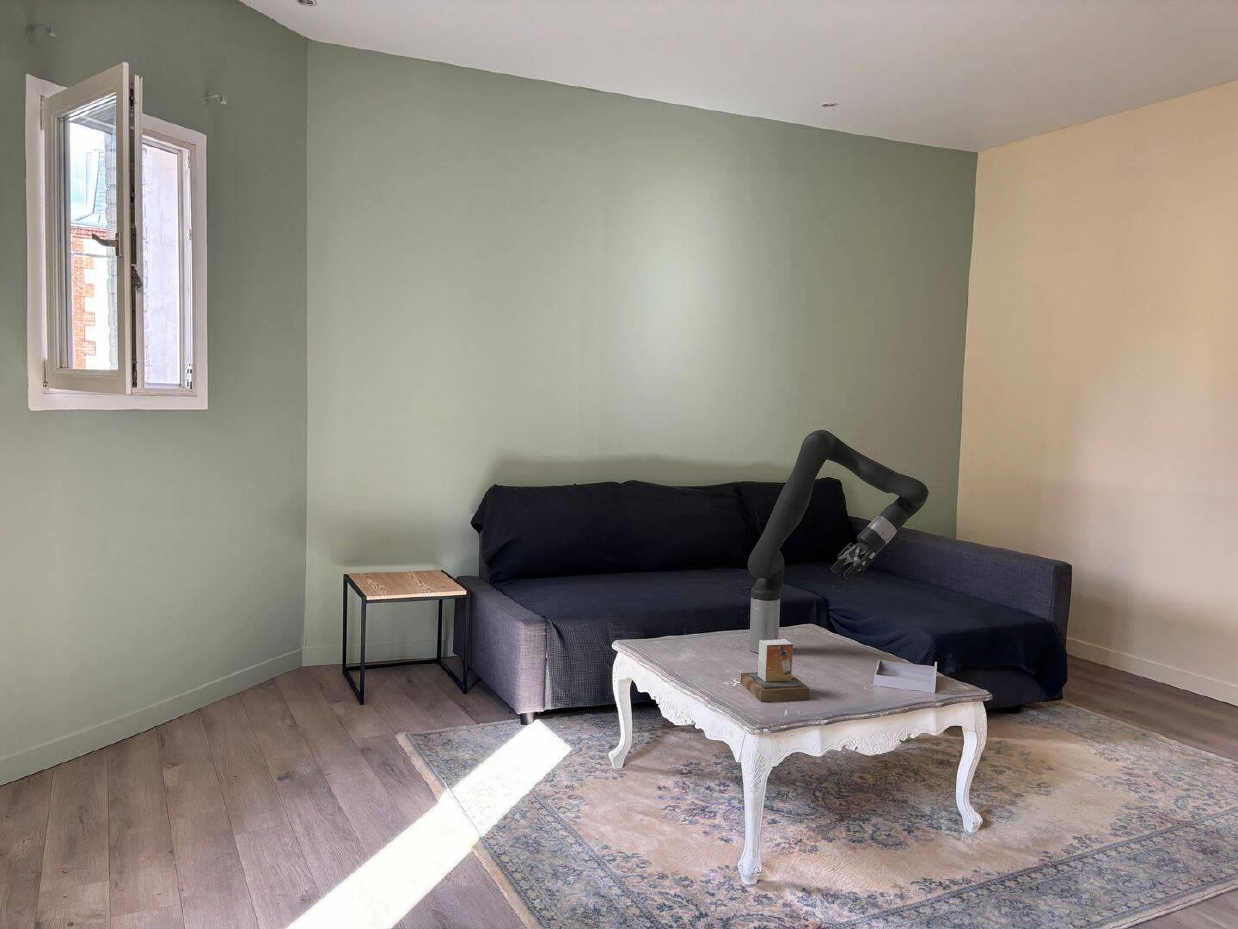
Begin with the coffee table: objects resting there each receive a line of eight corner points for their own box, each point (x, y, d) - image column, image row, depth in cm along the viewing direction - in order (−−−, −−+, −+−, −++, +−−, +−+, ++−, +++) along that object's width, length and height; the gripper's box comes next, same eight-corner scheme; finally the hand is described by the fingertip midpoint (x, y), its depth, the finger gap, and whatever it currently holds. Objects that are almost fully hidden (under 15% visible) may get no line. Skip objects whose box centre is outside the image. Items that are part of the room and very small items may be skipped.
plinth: (740, 683, 269) (740, 671, 269) (786, 681, 272) (786, 669, 272) (760, 701, 254) (761, 689, 253) (809, 699, 257) (809, 686, 256)
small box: (765, 682, 259) (766, 645, 258) (757, 676, 265) (758, 639, 264) (792, 681, 261) (793, 643, 260) (783, 674, 267) (785, 638, 266)
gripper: (857, 522, 282) (820, 561, 280) (880, 529, 268) (842, 570, 266) (873, 539, 283) (836, 578, 282) (897, 547, 269) (858, 588, 268)
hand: (839, 574), depth 274 cm, fingers open, 8 cm apart
